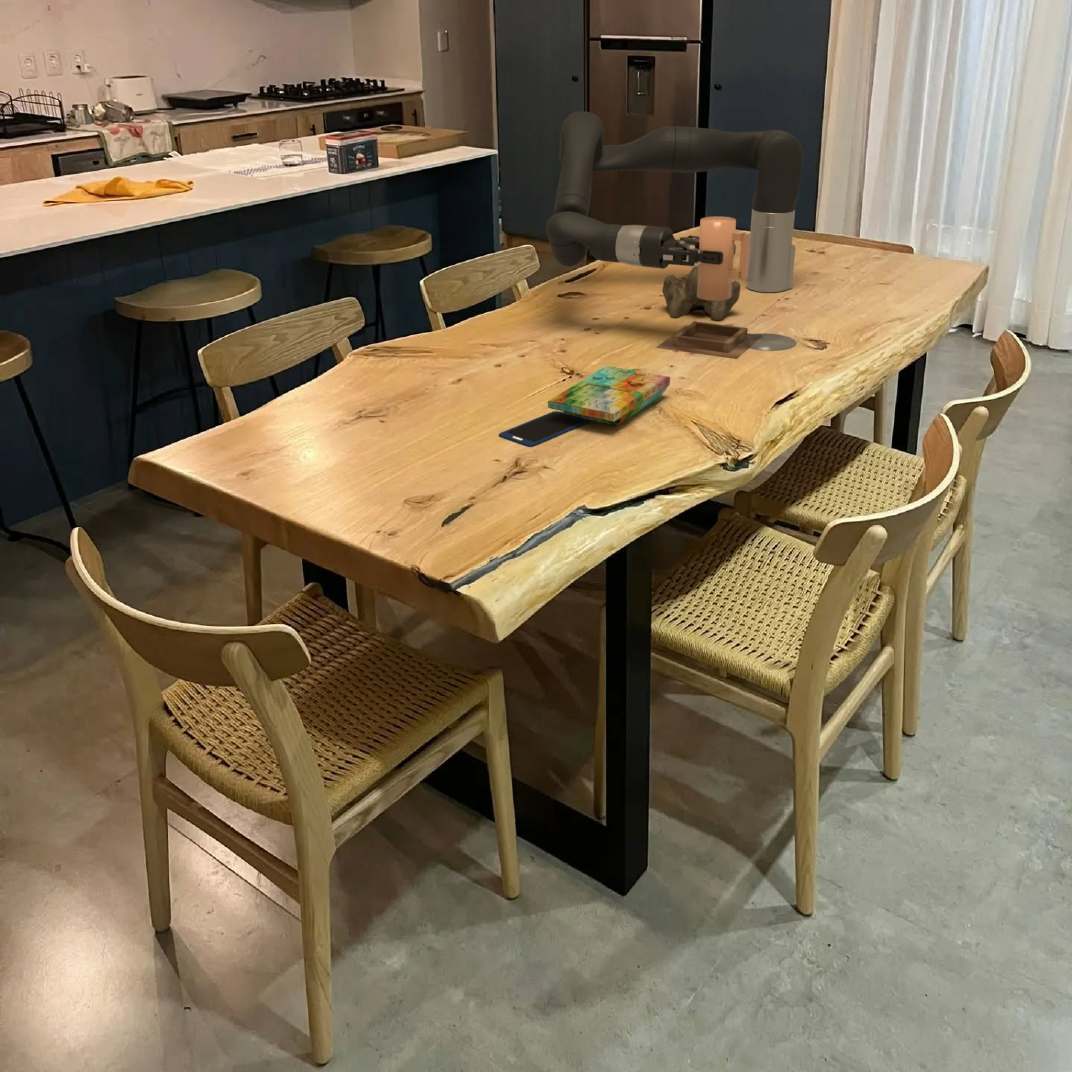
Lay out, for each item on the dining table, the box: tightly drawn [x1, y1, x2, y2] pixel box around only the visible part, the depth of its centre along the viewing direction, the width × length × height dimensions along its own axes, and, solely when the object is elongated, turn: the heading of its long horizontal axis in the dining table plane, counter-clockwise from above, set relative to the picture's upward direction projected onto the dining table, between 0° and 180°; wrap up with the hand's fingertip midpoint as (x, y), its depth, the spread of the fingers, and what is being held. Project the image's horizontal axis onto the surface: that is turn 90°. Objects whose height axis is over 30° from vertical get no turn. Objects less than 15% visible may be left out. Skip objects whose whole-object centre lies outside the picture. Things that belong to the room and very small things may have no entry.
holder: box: [655, 320, 761, 360], centre depth 206 cm, size 16×16×2 cm
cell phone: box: [498, 410, 589, 448], centre depth 169 cm, size 7×14×1 cm, turn 137°
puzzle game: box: [547, 365, 671, 427], centre depth 176 cm, size 12×5×20 cm
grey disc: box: [740, 332, 798, 352], centre depth 205 cm, size 11×11×1 cm
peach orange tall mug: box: [697, 215, 750, 301], centre depth 198 cm, size 9×6×14 cm
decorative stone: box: [662, 265, 741, 322], centre depth 223 cm, size 16×11×15 cm
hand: (728, 254), depth 197 cm, fingers closed on peach orange tall mug, 6 cm apart
